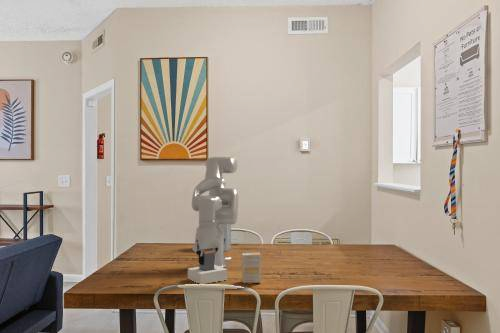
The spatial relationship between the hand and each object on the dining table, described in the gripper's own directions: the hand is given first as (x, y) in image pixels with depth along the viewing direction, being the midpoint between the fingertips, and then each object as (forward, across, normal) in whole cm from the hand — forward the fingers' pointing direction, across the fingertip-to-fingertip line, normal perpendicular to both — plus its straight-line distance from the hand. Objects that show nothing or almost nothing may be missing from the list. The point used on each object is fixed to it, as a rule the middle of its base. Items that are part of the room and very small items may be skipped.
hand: (206, 263), depth 186 cm
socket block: (+8, 0, 0) cm, 8 cm away
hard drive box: (+9, -41, -57) cm, 71 cm away
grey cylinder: (+6, 0, 0) cm, 6 cm away
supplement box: (+8, -14, +15) cm, 22 cm away
